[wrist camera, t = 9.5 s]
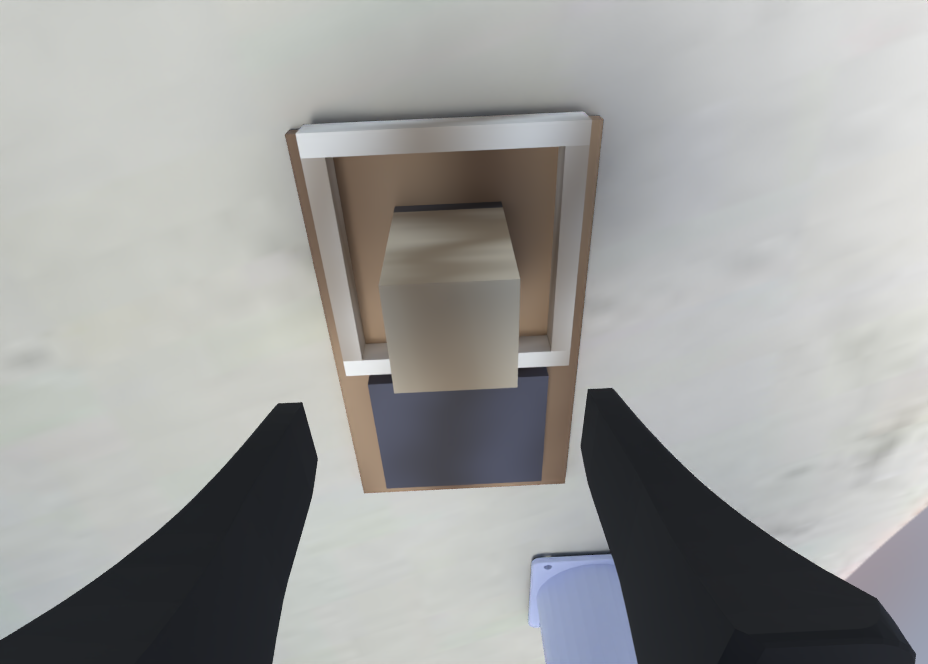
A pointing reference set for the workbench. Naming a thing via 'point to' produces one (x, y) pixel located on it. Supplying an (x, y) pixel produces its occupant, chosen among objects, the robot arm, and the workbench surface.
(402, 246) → the stamp
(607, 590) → the robot arm
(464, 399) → the board
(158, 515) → the workbench surface
